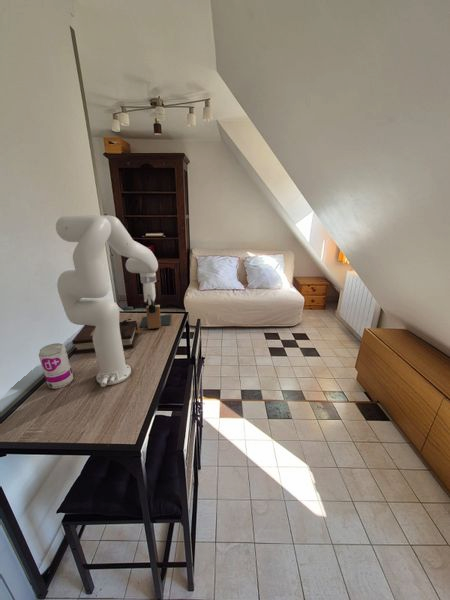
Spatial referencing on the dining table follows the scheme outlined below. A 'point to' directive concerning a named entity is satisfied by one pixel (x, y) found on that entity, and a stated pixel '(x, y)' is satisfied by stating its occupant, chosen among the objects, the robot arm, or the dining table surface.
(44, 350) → the supplement can
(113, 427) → the dining table surface
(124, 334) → the decorative book
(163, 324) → the slate mat
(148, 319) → the cardboard box
